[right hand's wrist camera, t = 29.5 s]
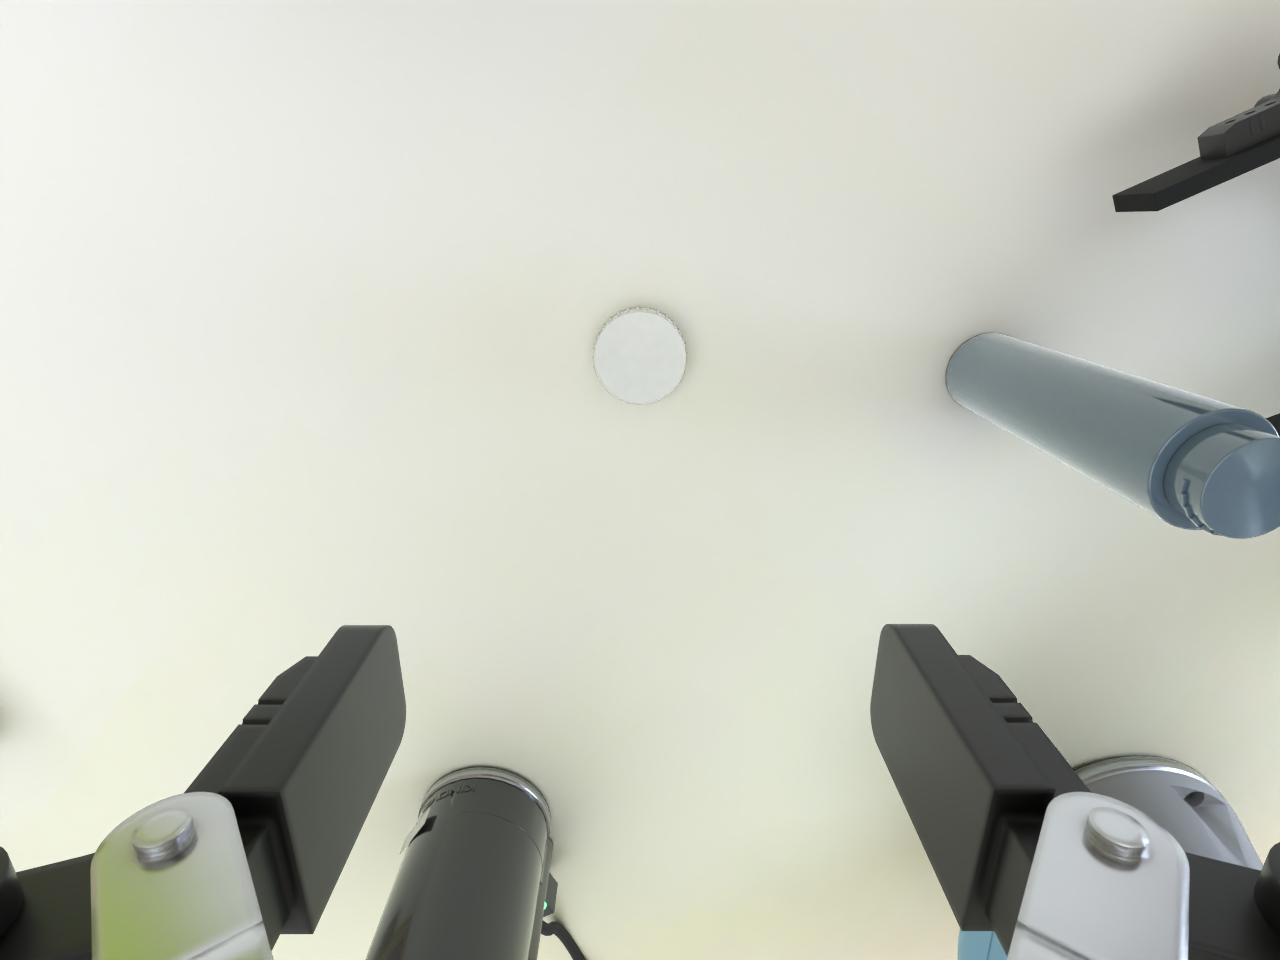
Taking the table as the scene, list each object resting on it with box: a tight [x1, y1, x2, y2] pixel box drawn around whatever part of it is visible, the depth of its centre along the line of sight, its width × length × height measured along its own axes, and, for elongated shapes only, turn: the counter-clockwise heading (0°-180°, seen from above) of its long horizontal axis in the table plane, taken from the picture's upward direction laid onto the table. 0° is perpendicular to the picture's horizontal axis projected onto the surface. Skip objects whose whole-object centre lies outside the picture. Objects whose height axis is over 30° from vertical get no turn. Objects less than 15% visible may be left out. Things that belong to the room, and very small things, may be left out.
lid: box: [593, 306, 687, 404], centre depth 38 cm, size 5×5×2 cm
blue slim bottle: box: [946, 333, 1280, 539], centre depth 31 cm, size 4×4×18 cm
